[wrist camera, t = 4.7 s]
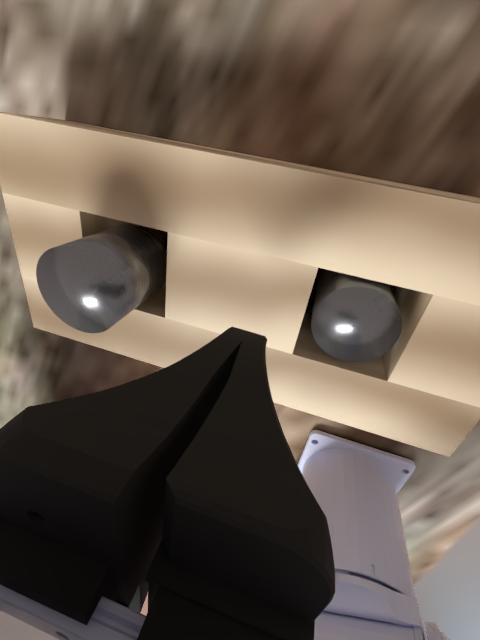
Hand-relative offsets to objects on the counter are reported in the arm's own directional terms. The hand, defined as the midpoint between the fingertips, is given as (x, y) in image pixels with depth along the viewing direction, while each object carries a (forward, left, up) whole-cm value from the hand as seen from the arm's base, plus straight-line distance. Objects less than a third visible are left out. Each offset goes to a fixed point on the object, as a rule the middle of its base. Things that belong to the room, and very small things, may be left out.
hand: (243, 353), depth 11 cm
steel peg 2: (0, -4, -10) cm, 11 cm away
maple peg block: (0, +2, -10) cm, 10 cm away
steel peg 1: (0, +8, -6) cm, 10 cm away
